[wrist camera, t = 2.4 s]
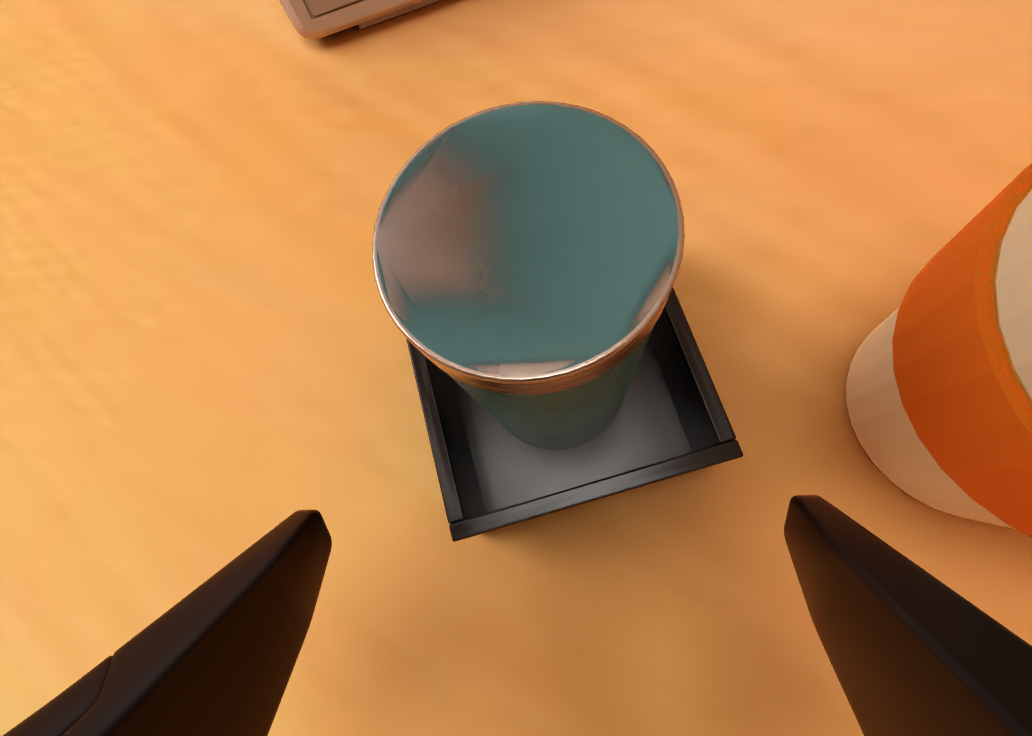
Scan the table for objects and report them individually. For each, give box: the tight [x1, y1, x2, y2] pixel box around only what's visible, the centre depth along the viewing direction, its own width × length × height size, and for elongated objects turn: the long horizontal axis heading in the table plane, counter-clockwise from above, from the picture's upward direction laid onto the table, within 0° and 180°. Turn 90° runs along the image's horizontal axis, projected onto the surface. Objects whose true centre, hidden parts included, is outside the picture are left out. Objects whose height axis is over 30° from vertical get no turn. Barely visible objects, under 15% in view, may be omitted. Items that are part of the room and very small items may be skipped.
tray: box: [406, 287, 743, 541], centre depth 20 cm, size 11×10×4 cm
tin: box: [373, 101, 685, 449], centre depth 16 cm, size 6×6×12 cm
